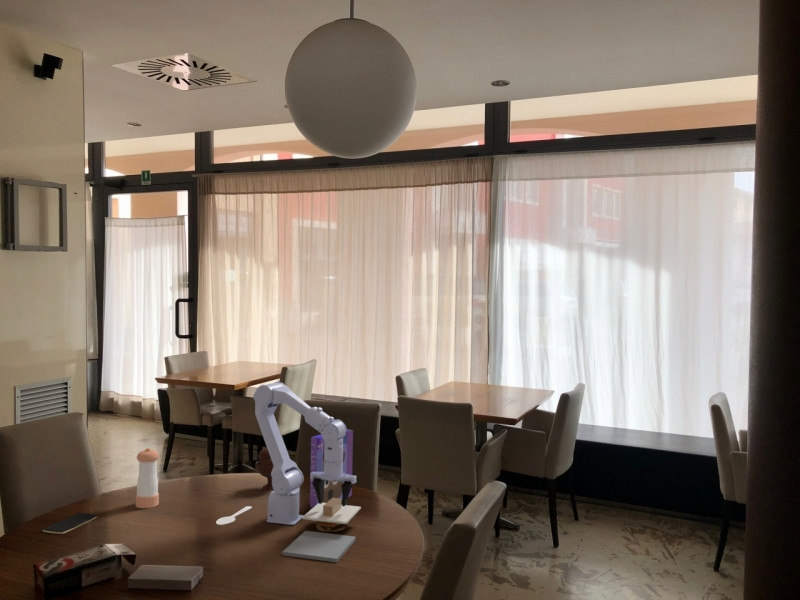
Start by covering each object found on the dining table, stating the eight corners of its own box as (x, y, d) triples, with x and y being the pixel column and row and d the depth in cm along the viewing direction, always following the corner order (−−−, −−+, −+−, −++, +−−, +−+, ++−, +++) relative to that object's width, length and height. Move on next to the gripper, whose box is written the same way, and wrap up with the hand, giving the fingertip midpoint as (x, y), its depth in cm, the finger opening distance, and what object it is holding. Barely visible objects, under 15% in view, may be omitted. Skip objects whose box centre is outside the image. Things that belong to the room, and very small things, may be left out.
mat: (282, 555, 172) (282, 551, 172) (305, 533, 188) (305, 530, 188) (336, 562, 168) (337, 558, 168) (355, 540, 184) (355, 536, 184)
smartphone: (98, 514, 198) (62, 531, 184) (98, 518, 198) (61, 535, 184) (78, 512, 200) (41, 529, 186) (78, 515, 200) (41, 532, 186)
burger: (310, 526, 195) (310, 511, 195) (336, 520, 200) (337, 506, 200) (325, 536, 186) (325, 521, 186) (352, 530, 192) (352, 515, 192)
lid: (302, 519, 188) (302, 507, 188) (319, 504, 201) (319, 493, 201) (346, 524, 184) (346, 512, 184) (360, 508, 198) (360, 497, 198)
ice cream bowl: (278, 493, 225) (278, 452, 225) (249, 491, 227) (250, 450, 227) (289, 485, 235) (289, 445, 235) (261, 482, 237) (262, 443, 237)
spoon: (257, 508, 210) (257, 506, 210) (225, 526, 193) (225, 525, 193) (243, 506, 212) (243, 504, 212) (211, 524, 195) (211, 522, 195)
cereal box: (320, 510, 209) (322, 438, 209) (309, 507, 211) (311, 436, 211) (351, 496, 224) (352, 429, 223) (341, 493, 226) (342, 427, 226)
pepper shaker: (163, 503, 212) (164, 447, 212) (144, 509, 206) (145, 452, 205) (149, 499, 216) (150, 444, 216) (130, 505, 210) (131, 448, 209)
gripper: (306, 461, 191) (305, 505, 191) (351, 465, 187) (350, 510, 187) (315, 456, 198) (314, 498, 198) (358, 459, 194) (358, 503, 194)
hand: (332, 504), depth 193 cm, fingers open, 7 cm apart
